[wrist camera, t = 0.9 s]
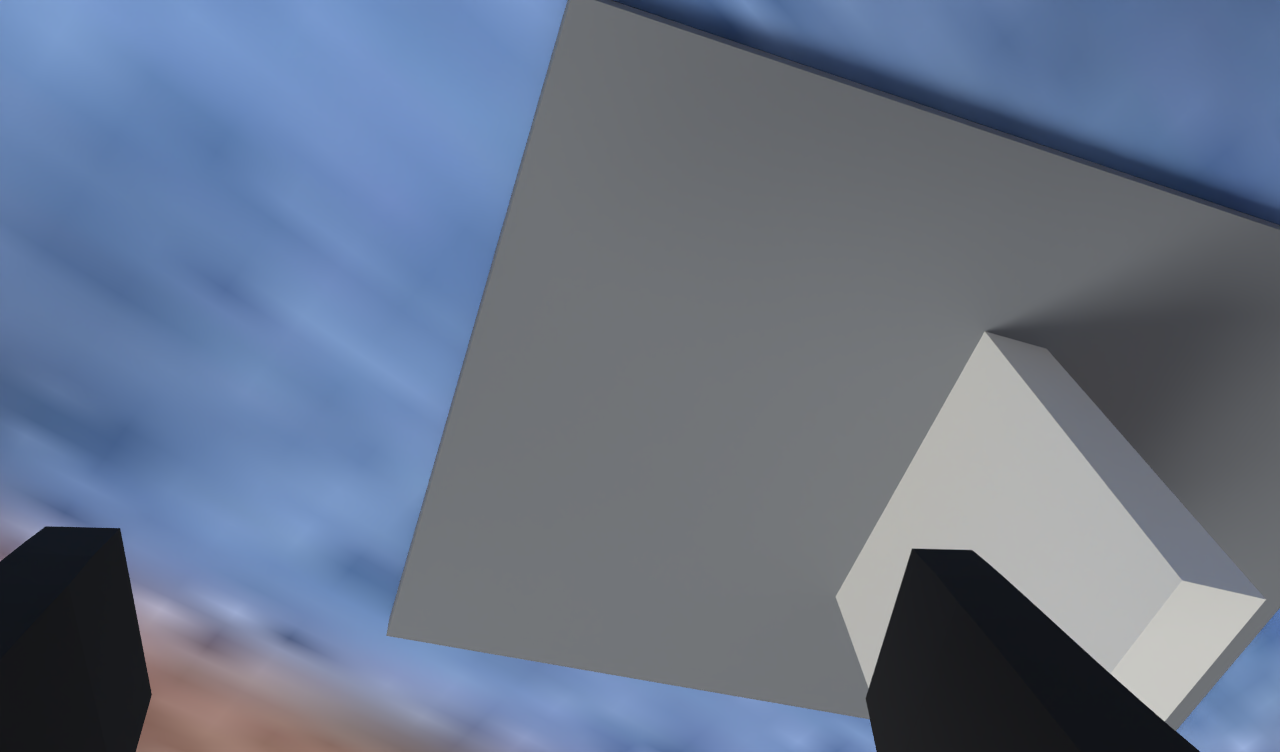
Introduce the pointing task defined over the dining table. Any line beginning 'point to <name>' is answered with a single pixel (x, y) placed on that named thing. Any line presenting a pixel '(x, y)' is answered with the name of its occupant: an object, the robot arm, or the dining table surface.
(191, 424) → the dining table surface
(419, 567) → the mat
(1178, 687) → the tile
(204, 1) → the dining table surface
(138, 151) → the dining table surface
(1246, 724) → the dining table surface
